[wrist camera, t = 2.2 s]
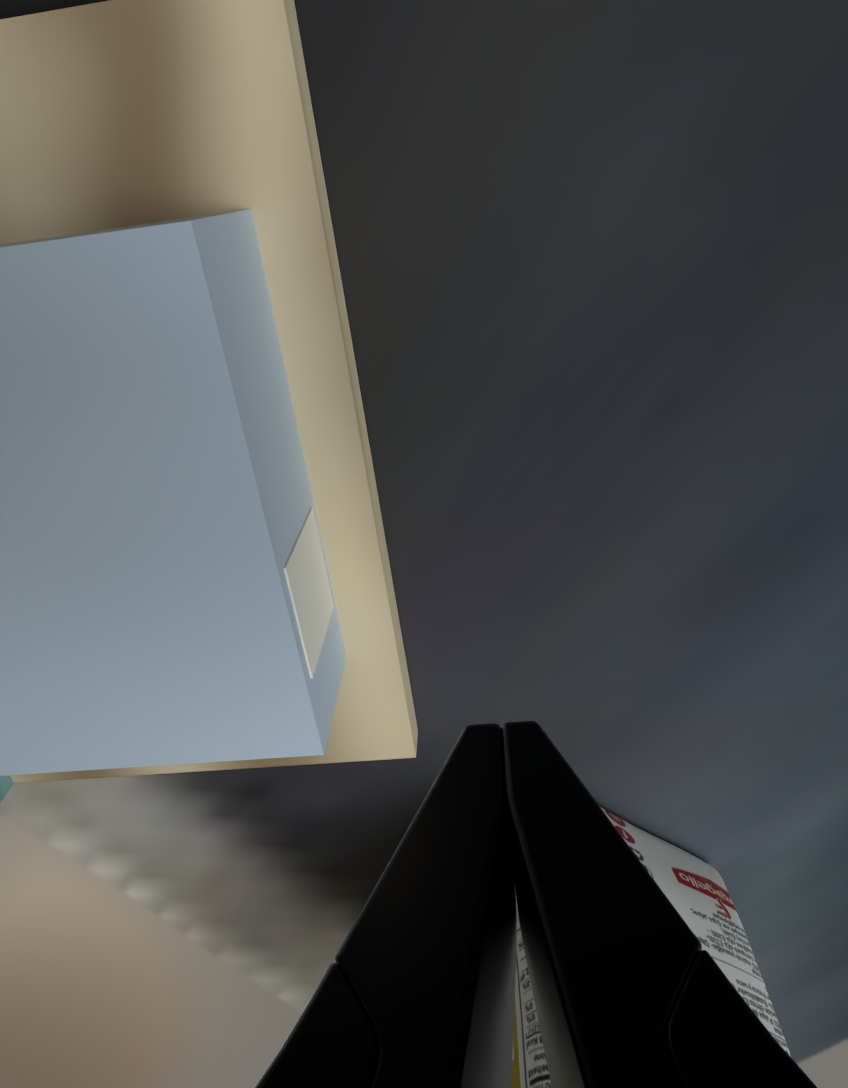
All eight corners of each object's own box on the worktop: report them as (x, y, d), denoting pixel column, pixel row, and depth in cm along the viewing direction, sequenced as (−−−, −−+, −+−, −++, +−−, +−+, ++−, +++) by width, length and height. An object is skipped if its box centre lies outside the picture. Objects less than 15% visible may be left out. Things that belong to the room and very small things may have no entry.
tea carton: (253, 208, 16) (193, 220, 12) (348, 657, 21) (325, 754, 18) (-129, 262, 17) (-286, 288, 13) (55, 679, 22) (-23, 777, 19)
